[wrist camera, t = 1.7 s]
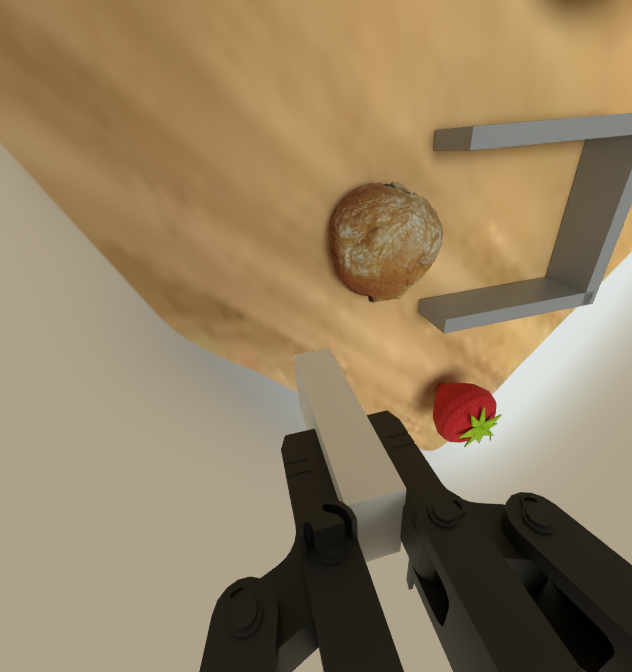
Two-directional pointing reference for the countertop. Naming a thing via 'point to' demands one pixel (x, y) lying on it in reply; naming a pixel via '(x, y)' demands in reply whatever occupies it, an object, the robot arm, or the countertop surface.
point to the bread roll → (384, 240)
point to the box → (576, 228)
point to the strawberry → (464, 412)
